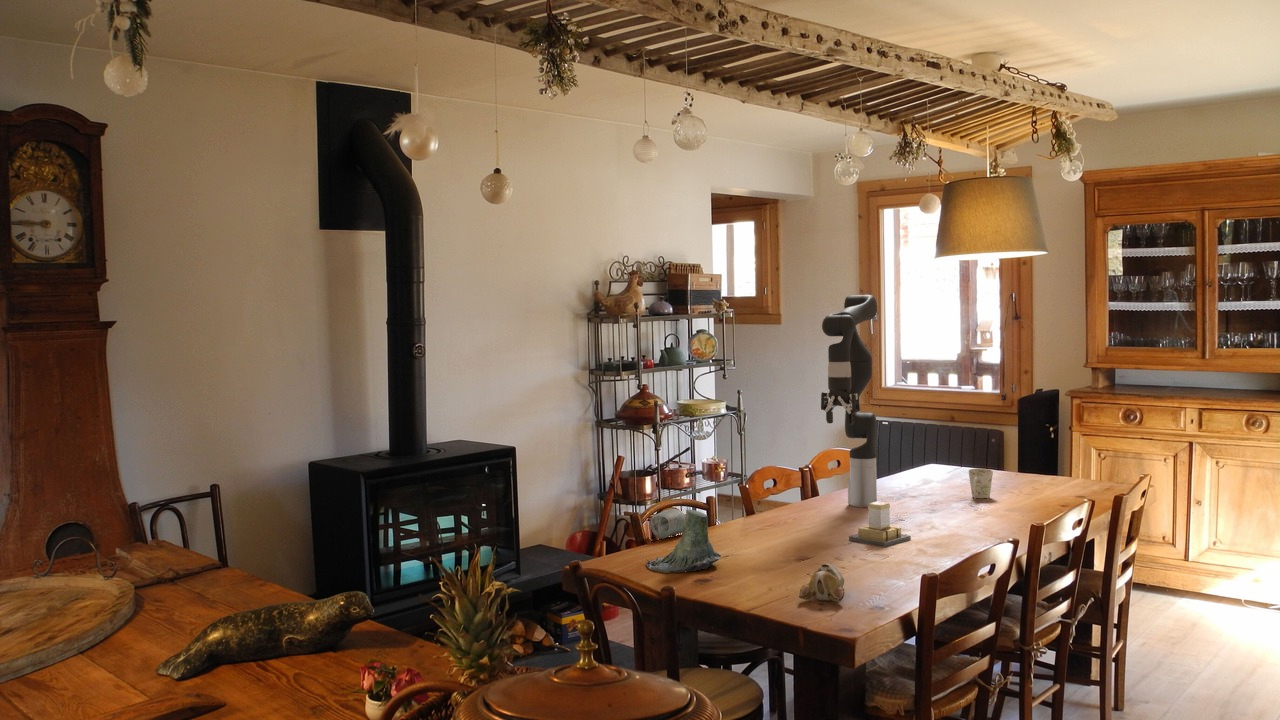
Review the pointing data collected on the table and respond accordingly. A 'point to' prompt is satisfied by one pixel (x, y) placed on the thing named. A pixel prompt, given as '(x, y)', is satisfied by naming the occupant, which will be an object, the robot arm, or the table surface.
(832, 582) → the ceramic sculpture
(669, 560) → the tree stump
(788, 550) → the table surface
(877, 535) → the fitting socket
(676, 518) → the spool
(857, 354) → the robot arm
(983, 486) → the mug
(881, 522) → the white upright block
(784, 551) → the table surface
